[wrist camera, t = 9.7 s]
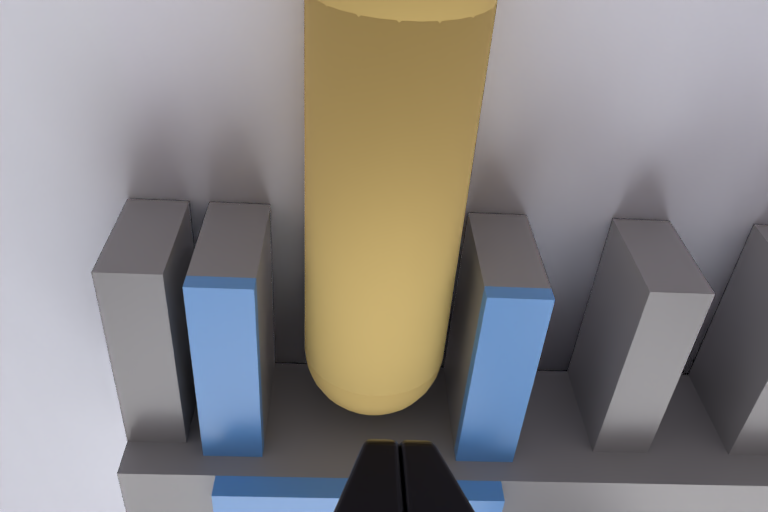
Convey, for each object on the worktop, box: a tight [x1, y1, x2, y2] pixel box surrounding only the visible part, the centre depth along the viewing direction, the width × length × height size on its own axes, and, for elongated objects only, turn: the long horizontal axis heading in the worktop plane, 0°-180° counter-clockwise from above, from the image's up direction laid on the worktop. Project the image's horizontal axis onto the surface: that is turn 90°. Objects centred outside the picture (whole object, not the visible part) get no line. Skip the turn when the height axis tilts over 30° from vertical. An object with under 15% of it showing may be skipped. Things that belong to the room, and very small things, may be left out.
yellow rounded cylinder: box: [304, 0, 497, 415], centre depth 16 cm, size 13×4×4 cm, turn 176°
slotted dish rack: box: [91, 199, 768, 512], centre depth 19 cm, size 8×25×5 cm, turn 86°
